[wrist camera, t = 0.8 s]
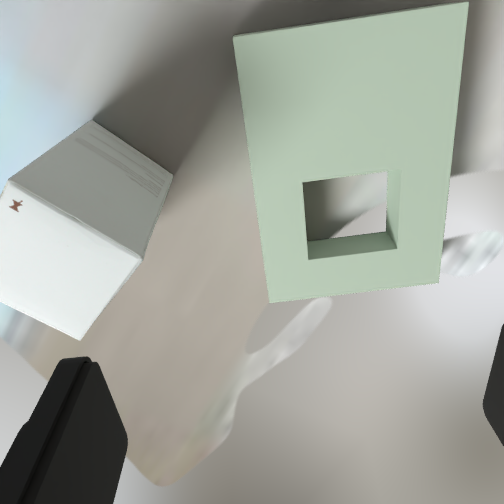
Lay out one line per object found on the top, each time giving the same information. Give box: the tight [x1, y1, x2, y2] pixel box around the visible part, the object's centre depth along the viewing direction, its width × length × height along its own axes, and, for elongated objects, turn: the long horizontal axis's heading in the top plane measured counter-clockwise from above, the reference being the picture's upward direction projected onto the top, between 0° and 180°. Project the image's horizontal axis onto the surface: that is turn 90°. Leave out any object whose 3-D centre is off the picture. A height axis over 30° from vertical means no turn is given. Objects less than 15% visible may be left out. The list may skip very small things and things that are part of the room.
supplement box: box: [0, 120, 173, 340], centre depth 27 cm, size 7×7×13 cm
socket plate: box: [233, 2, 469, 303], centre depth 31 cm, size 20×14×3 cm
